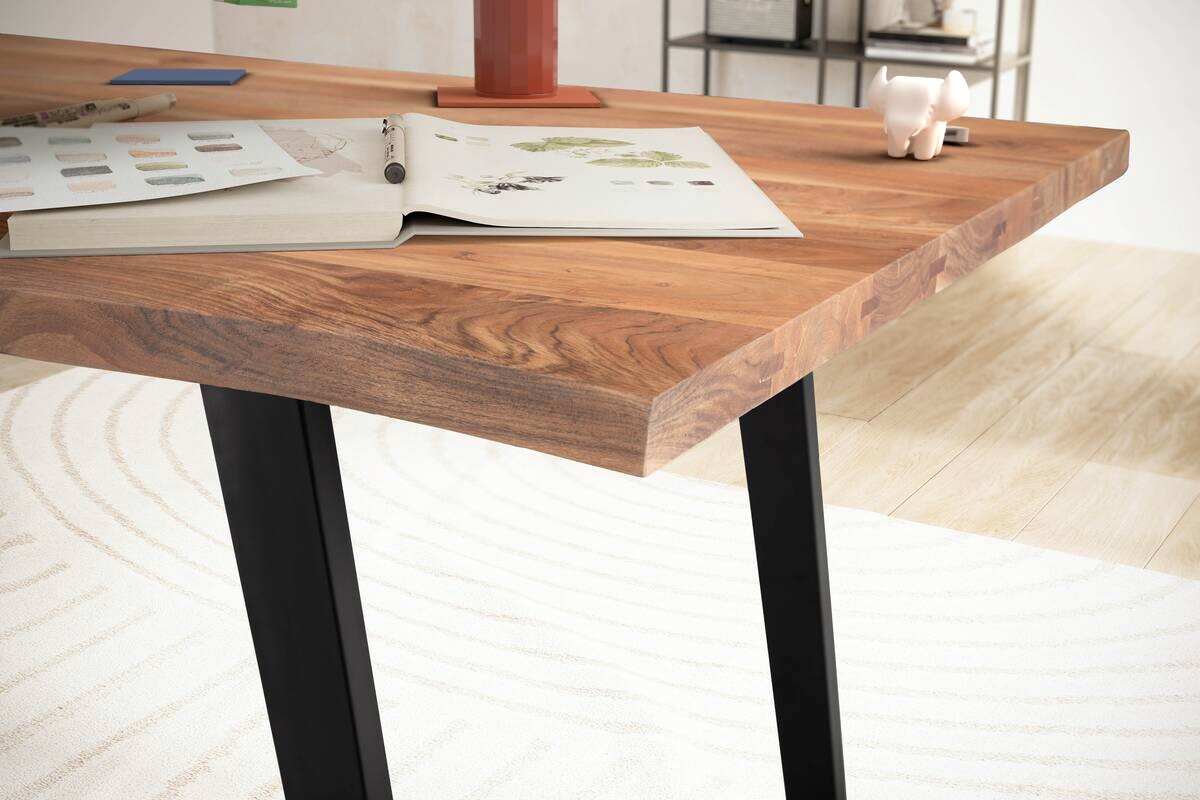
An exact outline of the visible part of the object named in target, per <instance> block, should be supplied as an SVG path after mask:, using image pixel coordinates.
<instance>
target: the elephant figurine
mask: <svg viewBox="0 0 1200 800" xmlns="http://www.w3.org/2000/svg"><path fill="white" fill-rule="evenodd" d="M887 68H888V67H887V66H886V65H883V66H881V67H880V68H879V70H878V71H877V73H876V74H875V76H874V77H873V79H872V81H871V83H870V84H869V89H868V91H867V92H868V93H867V104H868V107H869V109H870V110H871V112H872V114H874V115H876V116H877V117H879V118H883V120H882V126H883V131H884V133H885V134H886V135H887V141H886V142H887V143H886V144H887V146H886V148H887V154H888V156H890V157H893V158H904V157H906V156H907V154H911V153H913V155H914V158H915V159H917V160H921V161H927V160H930V159H932V158H933V157H934V156H938V155H939V154H940V153H941V150H942V147H943V143H944V141H943V139H944V134H945V129H946V126H947V123H948V122H950V121H954V120H957V119H959V118H961V117H962V116H963V115H964V114H965V113H966V112H967V111H968V108H969V105H970V91H969V88H968V87H969V86H968V84H967V82H966V80H965V78H964V76H963V74H962V73H960V71H958V70H951V71H949V73H948V74H947V76H946V77H945V78H944V79H942V78H936V77H920V76H905V75H896V76H894V77H893V78H892V77H891V79H890V80H889V81H888V80H887Z"/></svg>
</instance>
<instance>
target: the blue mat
mask: <svg viewBox="0 0 1200 800" xmlns="http://www.w3.org/2000/svg"><path fill="white" fill-rule="evenodd" d="M246 74H247V69H246V68H245V69H243V68H241V69H240V68H239V69H238V68H235V69H233V68H222V69H221V68H134V69H132V70H130V71H127V72H125V73H123V74H121V75H118V76H116V77H114V78H111V79H110V85H181V86H182V85H183V86H184V85H193V86H194V85H196V86H199V85H202V86H204V85H205V86H206V85H207V86H208V85H211V86H213V85H214V86H215V85H216V86H217V85H218V86H219V85H221V86H230V85H232V84H233V83H235V82H236V81H238V80H239V79H240V78H242V77H244V75H246Z"/></svg>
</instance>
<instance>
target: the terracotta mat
mask: <svg viewBox="0 0 1200 800" xmlns="http://www.w3.org/2000/svg"><path fill="white" fill-rule="evenodd" d="M436 92H437V93H436V94H437V96H436V97H437V107H438V108H602V101H600V100H599V99H598V98H597V97H596V96H595V95H593V93H592V92H591V91H590V90H589V89H587V88H586V87H575V86H574V87H573V86H572V87H570V86H569V87H564V86H562V87H560V86H558V90H557V96H555V97H550V98H541V99H497V98H487V97H480V96H477V95H475V89H474V86H436Z"/></svg>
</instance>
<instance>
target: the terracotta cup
mask: <svg viewBox="0 0 1200 800" xmlns="http://www.w3.org/2000/svg"><path fill="white" fill-rule="evenodd" d="M472 8H473V9H472V24H473V25H472V26H473V27H472V28H473V30H472V32H473V35H472V36H473V87H474V89H475V95H477V96H480V97H487V98H497V99H541V98H550V97H555V96H557V90H558V87H559V86H558V85H559V84H558V82H559V80H558V75H559V74H558V73H559V72H558V71H559V70H558V66H559V63H558V62H559V0H472Z"/></svg>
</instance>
